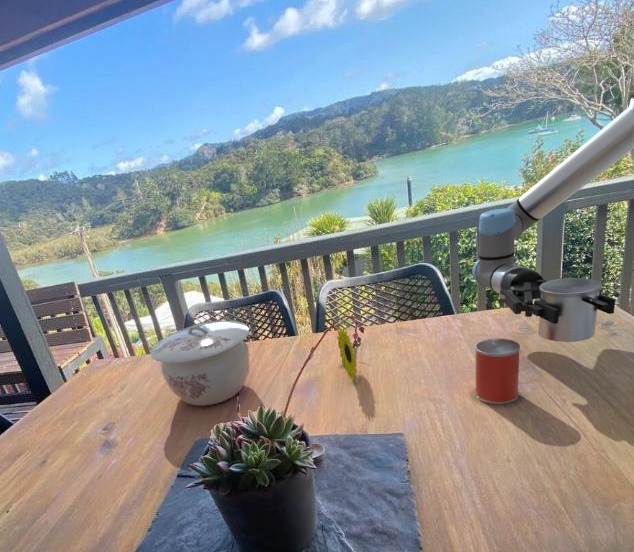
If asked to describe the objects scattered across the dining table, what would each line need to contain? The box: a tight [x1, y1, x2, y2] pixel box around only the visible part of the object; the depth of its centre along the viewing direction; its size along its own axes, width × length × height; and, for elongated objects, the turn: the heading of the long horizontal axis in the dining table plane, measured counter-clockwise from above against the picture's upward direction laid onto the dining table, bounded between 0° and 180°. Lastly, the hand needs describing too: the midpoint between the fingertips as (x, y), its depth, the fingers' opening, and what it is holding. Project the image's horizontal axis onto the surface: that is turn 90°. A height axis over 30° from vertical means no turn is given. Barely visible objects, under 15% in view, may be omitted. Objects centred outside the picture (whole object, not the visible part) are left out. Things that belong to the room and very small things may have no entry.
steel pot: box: [537, 277, 609, 343], centre depth 84 cm, size 10×14×10 cm, turn 177°
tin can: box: [474, 338, 521, 405], centre depth 90 cm, size 8×8×12 cm
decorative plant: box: [336, 326, 362, 382], centre depth 118 cm, size 15×6×30 cm
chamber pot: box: [149, 320, 250, 407], centre depth 120 cm, size 28×28×21 cm
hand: (584, 311), depth 81 cm, fingers closed on steel pot, 9 cm apart
